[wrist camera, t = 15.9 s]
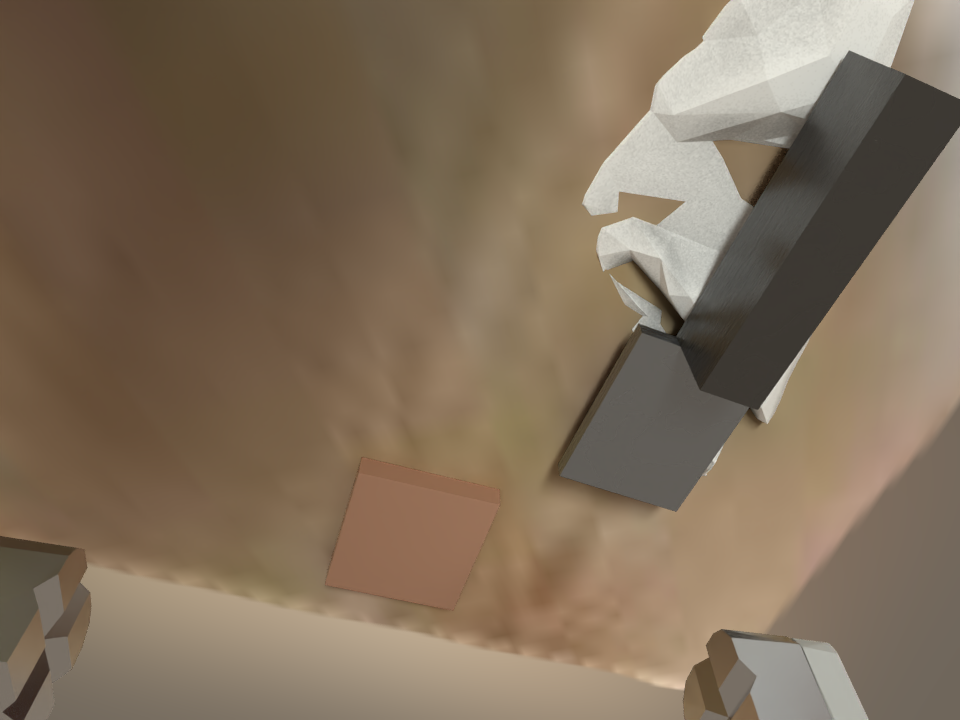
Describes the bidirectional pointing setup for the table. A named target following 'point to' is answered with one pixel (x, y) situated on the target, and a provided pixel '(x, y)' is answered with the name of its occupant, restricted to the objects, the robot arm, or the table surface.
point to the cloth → (726, 137)
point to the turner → (764, 287)
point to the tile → (411, 534)
